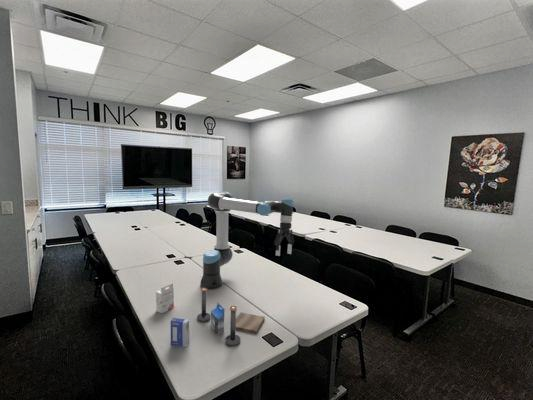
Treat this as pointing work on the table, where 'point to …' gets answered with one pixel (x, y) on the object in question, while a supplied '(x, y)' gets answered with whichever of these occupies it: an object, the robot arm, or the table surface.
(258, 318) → the walnut board
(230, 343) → the cord stand near
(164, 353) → the table surface
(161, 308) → the ink cartridge box
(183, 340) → the walkman
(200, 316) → the cord stand far
